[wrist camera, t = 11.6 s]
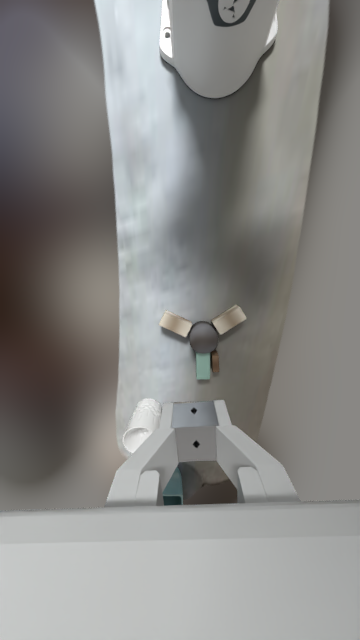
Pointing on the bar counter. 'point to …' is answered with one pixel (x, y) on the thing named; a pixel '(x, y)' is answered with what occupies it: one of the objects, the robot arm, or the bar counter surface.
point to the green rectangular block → (203, 365)
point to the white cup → (142, 424)
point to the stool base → (204, 330)
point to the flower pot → (173, 490)
